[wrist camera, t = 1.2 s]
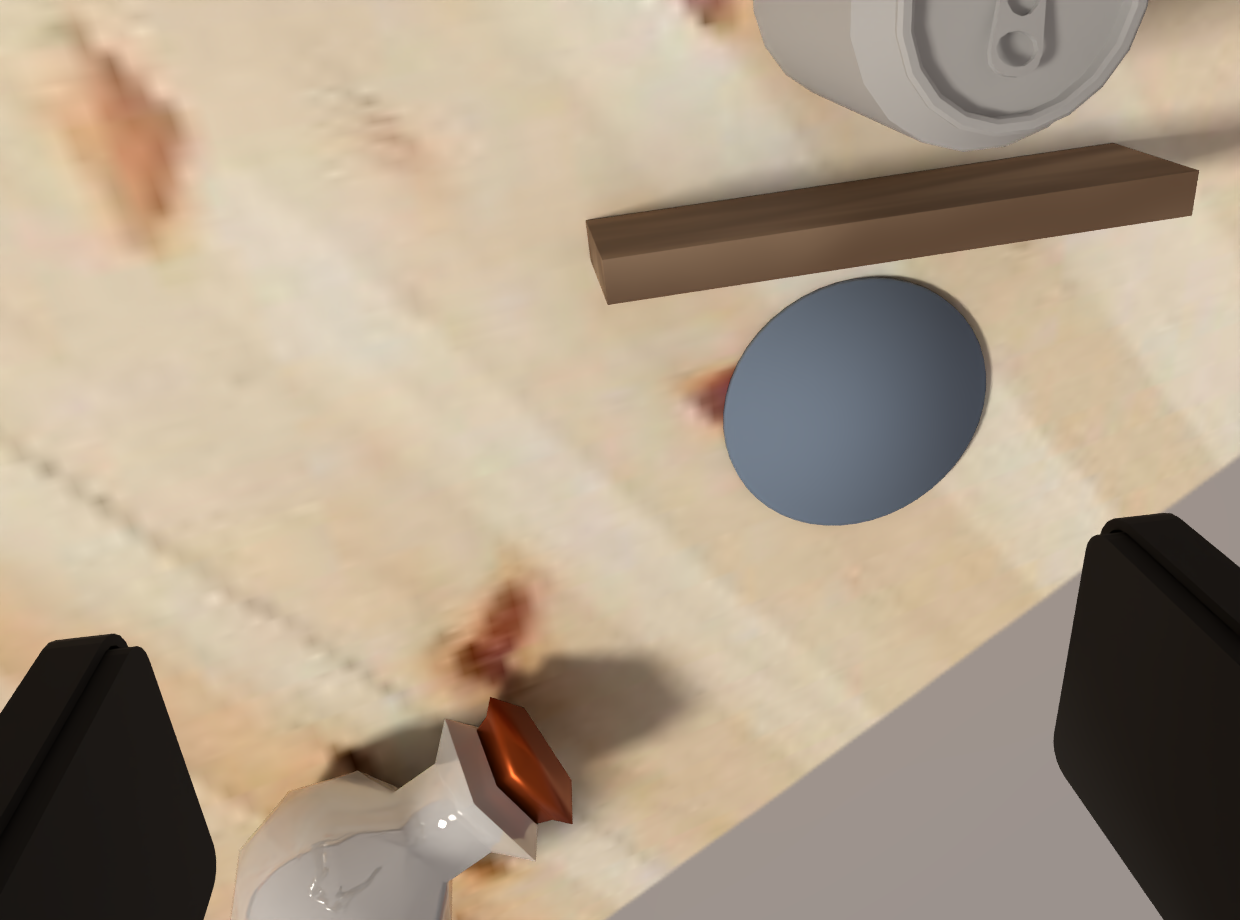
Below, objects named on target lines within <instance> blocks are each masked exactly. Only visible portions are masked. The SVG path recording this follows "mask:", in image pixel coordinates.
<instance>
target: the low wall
mask: <svg viewBox="0 0 1240 920" xmlns="http://www.w3.org/2000/svg"><path fill="white" fill-rule="evenodd" d="M1198 174H1199V170H1196V169H1193V168H1190V167H1186V166H1183V165H1180V164H1177V163H1174V162H1171V161H1168V160H1165V159H1161V158H1158V157H1155V156H1152V155H1149V154H1146V153H1143V152H1140V151H1137V150H1133V149H1130V148H1127V147H1124V146H1121V145H1118V144H1115V143H1110V144H1103V145H1096V146H1089V147H1082V148H1076V149H1069V150H1062V151H1055V152H1048V153H1042V154H1035V155H1028V156H1021V157H1014V158H1008V159H1001V160H994V161H987V162H980V163H974V164H967V165H960V166H953V167H946V168H940V169H933V170H926V171H919V172H912V173H906V174H899V175H892V176H885V177H878V178H872V179H865V180H858V181H851V182H844V183H838V184H831V185H824V186H817V187H810V188H804V189H797V190H790V191H783V192H776V193H770V194H763V195H756V196H749V197H742V198H736V199H729V200H722V201H715V202H708V203H702V204H695V205H688V206H681V207H674V208H668V209H661V210H654V211H647V212H640V213H634V214H627V215H620V216H613V217H606V218H600V219H593V220H586V227H587V235H588V242H589V250H590V258H591V262H592V265H593V268H594V270H595V273H596V275H597V278H598V281H599V283H600V286H601V288H602V291H603V294H604V296H605V299H606V301H607V304H608V305H610V304H617V303H623V302H630V301H636V300H643V299H649V298H656V297H662V296H669V295H675V294H682V293H689V292H695V291H702V290H708V289H715V288H721V287H728V286H734V285H741V284H747V283H754V282H760V281H767V280H774V279H780V278H787V277H793V276H800V275H806V274H813V273H819V272H826V271H832V270H839V269H845V268H852V267H858V266H865V265H872V264H878V263H885V262H891V261H898V260H904V259H911V258H917V257H924V256H930V255H937V254H943V253H950V252H956V251H963V250H970V249H976V248H983V247H989V246H996V245H1002V244H1009V243H1015V242H1022V241H1028V240H1035V239H1041V238H1048V237H1054V236H1061V235H1068V234H1074V233H1081V232H1087V231H1094V230H1100V229H1107V228H1113V227H1120V226H1126V225H1133V224H1139V223H1146V222H1152V221H1159V220H1166V219H1172V218H1179V217H1185V216H1192V211H1193V205H1194V199H1195V193H1196V186H1197V180H1198Z"/></svg>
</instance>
